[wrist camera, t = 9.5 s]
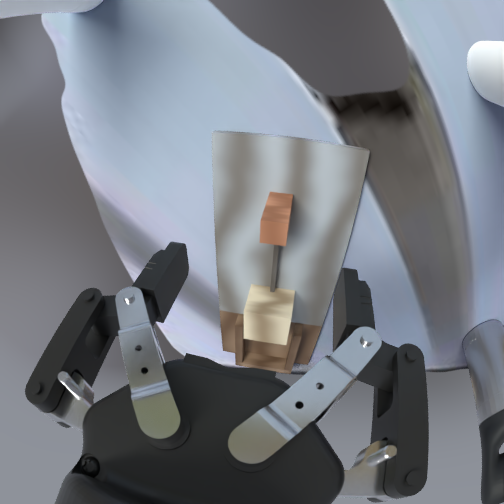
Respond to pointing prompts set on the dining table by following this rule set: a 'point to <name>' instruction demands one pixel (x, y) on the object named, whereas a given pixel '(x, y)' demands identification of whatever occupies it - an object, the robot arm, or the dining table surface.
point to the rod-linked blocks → (270, 298)
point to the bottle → (44, 6)
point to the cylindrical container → (487, 70)
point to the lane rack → (298, 240)
